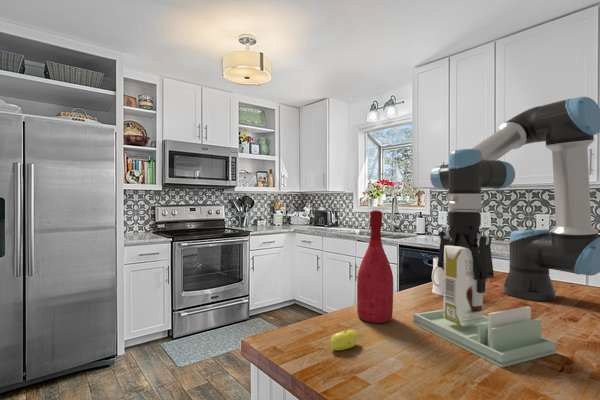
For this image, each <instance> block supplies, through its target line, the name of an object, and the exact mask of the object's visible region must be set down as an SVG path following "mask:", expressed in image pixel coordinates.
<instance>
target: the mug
mask: <svg viewBox="0 0 600 400" xmlns="http://www.w3.org/2000/svg"><path fill="white" fill-rule="evenodd" d="M432 262H433V263H432V265H433V266H432V267H433V268H432V271H431V281H432V290H431V292H432V293H433V294H434V295H438V296H443V297H444V271H443V269H442V268H441V267H438V265H437V264H438V257H433V259H432ZM442 263H443V262H442Z"/></svg>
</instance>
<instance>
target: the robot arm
mask: <svg viewBox="0 0 600 400" xmlns="http://www.w3.org/2000/svg"><path fill="white" fill-rule="evenodd" d="M598 134H600V107H599V104H597V102H596V101H595V100H594V99H593V98H591V97H589V96H579V97H573V98H567V99H563V100H559V101H556V102H552V103H548V104H542V105H540V106H539V105H538V106H534V107H531V108H529V109H527V110H524V111H522V112H520V113H518V114H517V115H515V116H513V117H511V118H509V120H507V121H506V122H504V123H502V124H501V125H500V126H498V128H497V130H496V132H494V133H493V134H491V135H490V136H488V137H486V138H485V139H484V140H481V142H479V143H477V145H475V146H474V147H472V148H462V149H455V150H452V151H451V152H450V153H449V156H448V157H449V158H448V163H447V164H440V165H437V166H435V167H433V168H432V170H431V172H430V175H429V179H430V183H431V185H432V186H433V187H434V188H435V189H436V190H437V189H438V190H445V191H448V192H447V195H448V197H447V198H448V204H447V205H448V210H450V211H448V212H447V224H448V226H449V228H448V229H449V230H446V231H444V230H442V231H439V238H440V242H439V250H438V256H437V258H438V264H437V265H438V267H441V268H442V269H443V271H444V246H461V247H464V248H467V249H469V250H470V251H471V253H472V257H473V271H474V274H475V278H474V279H472V306H481V305H483V306H484V294H485V293H486V281H487V279H492V278H494V277H495V274H494V265H493V257H492V249H491V244H492V241H493V240H492V239H493V238H492V236H490V235H483V234H481V232H480V231H481V230H480V227H481V225H482V213H481V212H480V211H481V210H482V190H483V189H493V190H499V189H506V188H508V187H510V186H511V185H512V183H514V181H515V178H516V169H515V168H514V166H513V165H512V164H511V163H509V162H507V161H502V160H501V158H502V157H503V156H505V155H506V154H507V153H509V152H510V151H512V150H517V149H520V148H521V147H523V146H525V145H528V144H533V143H542V142H545V147H546V148H547V149H549V150H550V151H551V153H552V154H551V156H552V157H551V158H552V173H553V174H552V175H553V192H554V193H553V194H554V196H553V197H554V210H555V211H554V213H555V226H553V228H552V229H549V228H548V229H545V228H544V229H526V230H525V229H524V230H523V229H522V230H513V231H512V232H511V233H510V234H509V242H508V244H509V271H508V274H507V276H506V278H505V281H504V284H503V293H505V294H506V295H508V296H512V297H513V298H514V297H515V298H518V299H524V300H531V301H538V302H548V301H549V302H550V301H554V300H556V290H555V287H554V285H553V282H552V278H551V276H550V270H554V271H559V272H560V271H561V272H565V273H571V274H575V275H583V276H590V277H591V276H596V275H598V274H599V273H600V237H599V230H598V229H597V228H596V227H593V226H592V211H591V192H590V188H591V187H590V171H589V170H590V169H589V155H588V154H589V152H588V149H589V146H591V144H592V143H594V141H595V135H598ZM499 159H500V160H499ZM472 247H473V248H472ZM442 262H443V263H442Z"/></svg>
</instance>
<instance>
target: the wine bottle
mask: <svg viewBox="0 0 600 400" xmlns="http://www.w3.org/2000/svg"><path fill="white" fill-rule="evenodd" d="M369 216H370V219H369V227H370V237H369V243H368V246H367V248H366V251H365V254H364V256H363V257H362V260H361V262H360V265H359V267H358V272H357V276H356V277H357V278H356V279H357V280H356V310H357V316H358V317H359V318H360V319H361V320H362V321H365V322H367V323H372V324H384V323H388V322H389V321H391V319H393V312H394V311H393V309H394V275H393V271H392V267H391V265H390V264H391V263H390V261H389V259H388V257H387V254H386V251H385V249H384V247H383V243H382V236H381V235H382V234H381V233H382V232H381V229H382V226H383V212H382V211H381V210H374V209H373V210H371V211H370V212H369Z"/></svg>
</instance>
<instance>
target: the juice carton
mask: <svg viewBox="0 0 600 400" xmlns="http://www.w3.org/2000/svg"><path fill="white" fill-rule="evenodd" d="M472 248H473V247H472ZM474 278H475V274H474V271H473V257H472V253H471V251H470V250H469V249H467V248H464V247H461V246H444V296H443V303H442V304H443V305H442V310H443V316H444V319H447V320H449V321H451V322H454V323H456V324H458V325H461V326H468V325H472V324H478V323H482V322H483V315H484V304H483V305H481V306H472V279H474Z"/></svg>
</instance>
